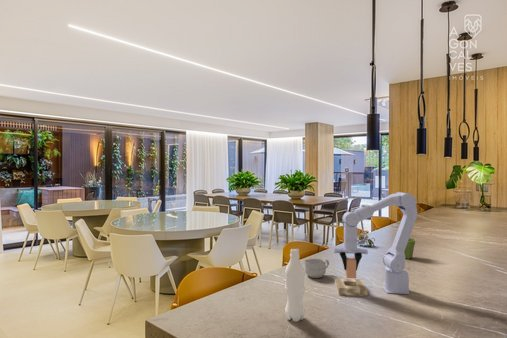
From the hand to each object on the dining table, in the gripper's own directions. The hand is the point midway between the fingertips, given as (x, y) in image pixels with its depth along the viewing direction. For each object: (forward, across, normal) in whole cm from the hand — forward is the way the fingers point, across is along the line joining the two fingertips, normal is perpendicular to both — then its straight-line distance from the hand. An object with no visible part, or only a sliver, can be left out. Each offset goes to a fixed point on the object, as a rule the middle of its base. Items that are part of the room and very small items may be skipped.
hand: (350, 269), depth 143 cm
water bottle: (+10, -25, -30) cm, 40 cm away
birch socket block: (+9, 0, 0) cm, 9 cm away
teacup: (+10, -13, +18) cm, 24 cm away
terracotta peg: (+3, 0, 0) cm, 3 cm away
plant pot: (+10, +43, +58) cm, 73 cm away
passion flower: (+10, +25, +87) cm, 91 cm away
